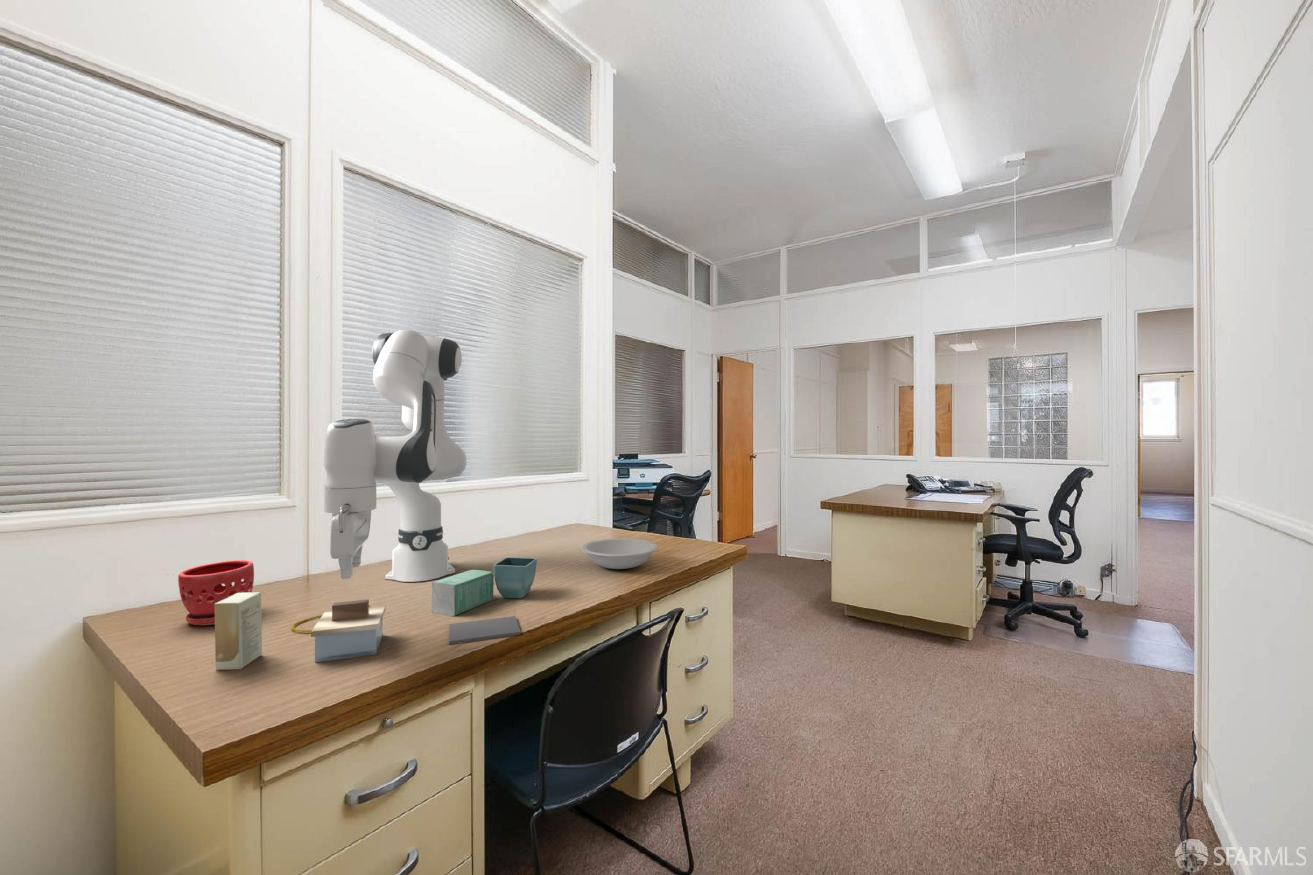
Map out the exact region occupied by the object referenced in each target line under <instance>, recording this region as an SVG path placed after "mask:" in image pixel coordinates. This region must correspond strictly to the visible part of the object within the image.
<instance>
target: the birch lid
mask: <svg viewBox="0 0 1313 875" xmlns="http://www.w3.org/2000/svg"><path fill="white" fill-rule="evenodd" d="M369 601H370V600H369V599H368V598H367V599H358V600H348V601H338V602H333V604H332V605H331V611H324V612H323V614H321V615H322V617H321V618H319V619H318V621H317V622H316V624H315V625H314V627H313V628H312V629H311V630H312V631H311V634H310V638H315V637H316V636H324V635H332V634H340V633H349V632H357V631H365V630H373V629H379V626H380V624H381V621H382V618H384V615H385V612H386V605H379V606H377V605H376V606H370V607H369V605H370V602H369Z"/></svg>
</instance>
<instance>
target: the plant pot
mask: <svg viewBox="0 0 1313 875" xmlns="http://www.w3.org/2000/svg"><path fill="white" fill-rule="evenodd" d="M254 567H255V566H254V563H253V561H252V560H243V559H240V560H239V559H238V560H237V559H236V560H226V561H218V562H214V563H212V562H211V563H206V564H203V565H202V564H201V565H198V566H195V567H190V568H187V569H184V570H183V571H181V572H180V573H179V574H178V577H177V578H178V579H177V582H178V583H177V584H178V588H179V596H180V599H181V601H182V604H183V606H184V608H185V610H186V611H187V612H188V614H187V615H186V616H185V620H186V621H187V623H189V624H190V625H194V626H213V625H214V626H215V606H214V604H215V603H217V602H219V601H221V600H223V599H225V598H228V597H230V596H232V595H234V594H236V593H247V592H253V588H254V583H255V580H254V579H255V569H254ZM232 584H233V585H232Z"/></svg>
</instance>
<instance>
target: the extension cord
mask: <svg viewBox="0 0 1313 875" xmlns="http://www.w3.org/2000/svg"><path fill="white" fill-rule="evenodd" d="M369 607H371V604H369ZM322 615H323V614H321V615H316V616H312V617H311V616H310V617H309V618H308V617H307V618H305V619H302V620H299V621H296V622H294V623H293V624H292V625H291V626H290V629H291V632H292V633H294V634H300V635H302V634H303V635H309V634H310V635H311V631H312V629H297V628H296V627H298V626H299V625H301V624H303V623H307V622H309V620H310V621H313V620H315V619H316V618H317V619H320V618H321V617H322Z"/></svg>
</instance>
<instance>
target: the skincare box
mask: <svg viewBox="0 0 1313 875" xmlns="http://www.w3.org/2000/svg"><path fill="white" fill-rule="evenodd" d="M214 606H215V624H214V645H215V646H214V648H215V650H214V651H215V652H214V654H215V670H217V671H223V670H224V671H225V670H241V669H243V668H244V667H247V665H249V664H251V662H253V661H254V660H256V659H257V658H259V657H260V656H261V655H263V640H262V639H263V636H262V635H263V628H262V626H263V624H262V593H261V591H260V592H258V591H257V592H256V591H252V592H247V593H236V594H234V595H232V596H230V597H228V598H225V599H223V600H221V601H219V602H217V603H215V604H214Z"/></svg>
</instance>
